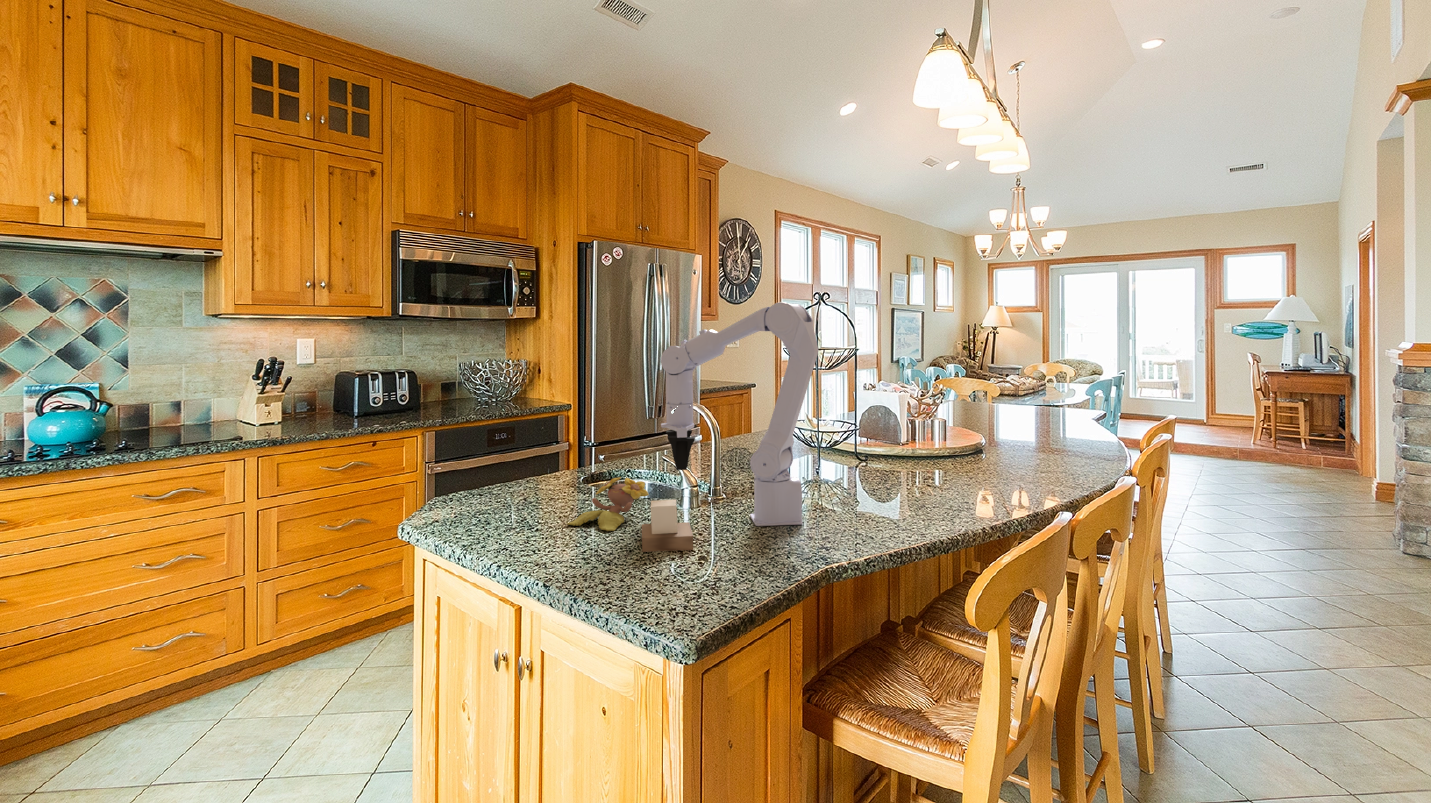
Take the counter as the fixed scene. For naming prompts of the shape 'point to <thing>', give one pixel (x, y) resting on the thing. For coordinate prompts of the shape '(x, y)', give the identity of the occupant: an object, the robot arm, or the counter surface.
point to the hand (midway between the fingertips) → (680, 466)
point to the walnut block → (667, 539)
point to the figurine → (619, 497)
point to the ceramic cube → (664, 516)
